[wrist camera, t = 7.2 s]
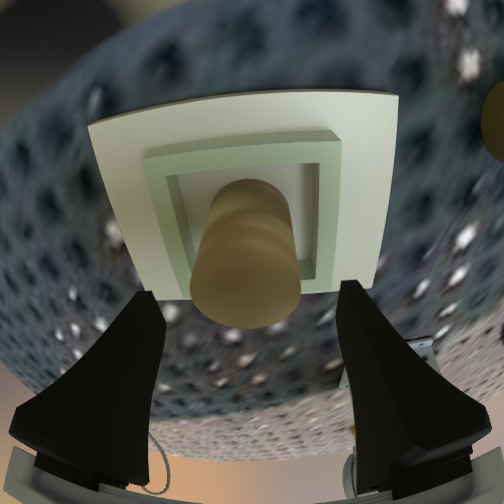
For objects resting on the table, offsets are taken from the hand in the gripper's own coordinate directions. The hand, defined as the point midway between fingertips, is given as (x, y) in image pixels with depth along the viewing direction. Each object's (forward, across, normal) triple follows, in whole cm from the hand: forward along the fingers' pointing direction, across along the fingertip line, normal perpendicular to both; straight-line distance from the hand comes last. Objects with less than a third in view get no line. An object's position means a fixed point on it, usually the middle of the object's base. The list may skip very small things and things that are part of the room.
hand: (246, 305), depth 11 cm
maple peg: (+7, 0, 0) cm, 7 cm away
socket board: (+8, 0, 0) cm, 8 cm away
